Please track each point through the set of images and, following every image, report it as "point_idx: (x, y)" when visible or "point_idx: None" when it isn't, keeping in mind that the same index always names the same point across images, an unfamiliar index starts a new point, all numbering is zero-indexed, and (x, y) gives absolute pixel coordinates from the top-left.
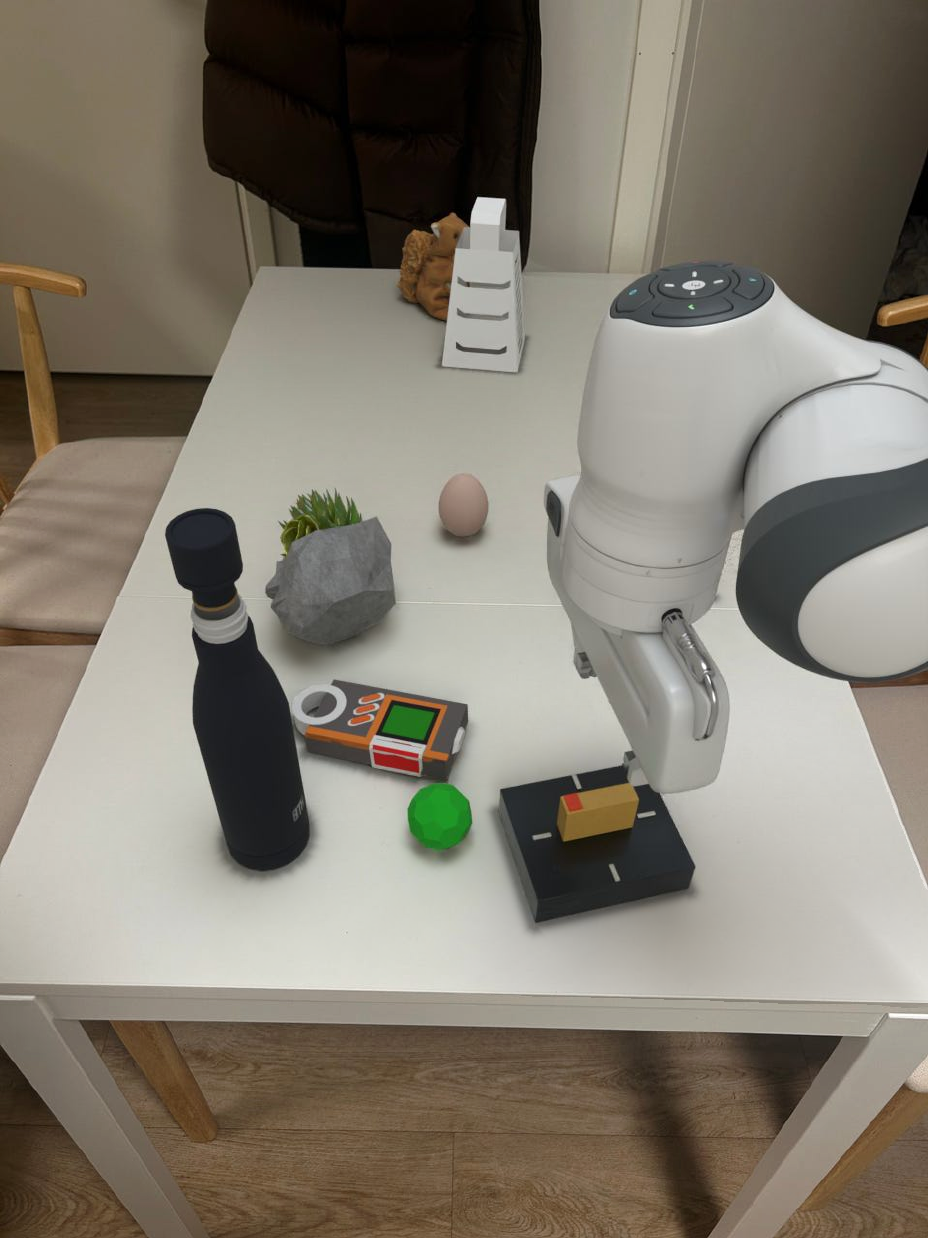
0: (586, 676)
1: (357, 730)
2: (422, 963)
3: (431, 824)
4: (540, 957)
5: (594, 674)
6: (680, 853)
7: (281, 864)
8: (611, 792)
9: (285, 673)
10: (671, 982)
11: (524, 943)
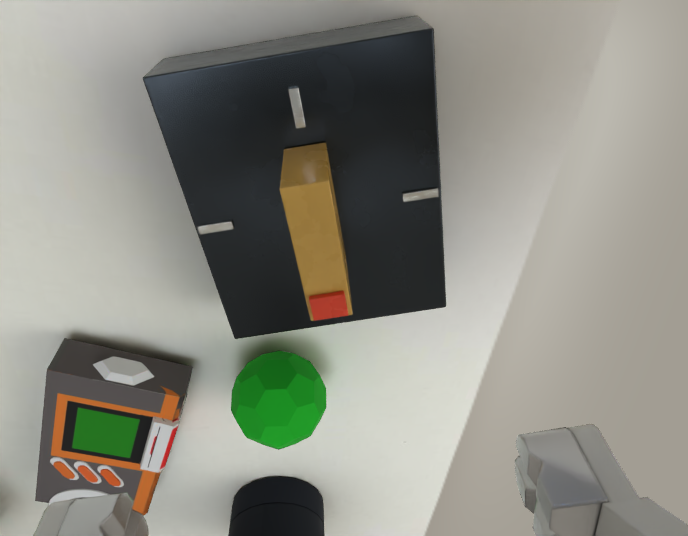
0: (141, 528)
1: (131, 478)
2: (457, 383)
3: (312, 430)
4: (482, 269)
5: (129, 514)
6: (397, 55)
7: (319, 496)
8: (306, 233)
9: (22, 512)
10: (574, 96)
11: (458, 285)
